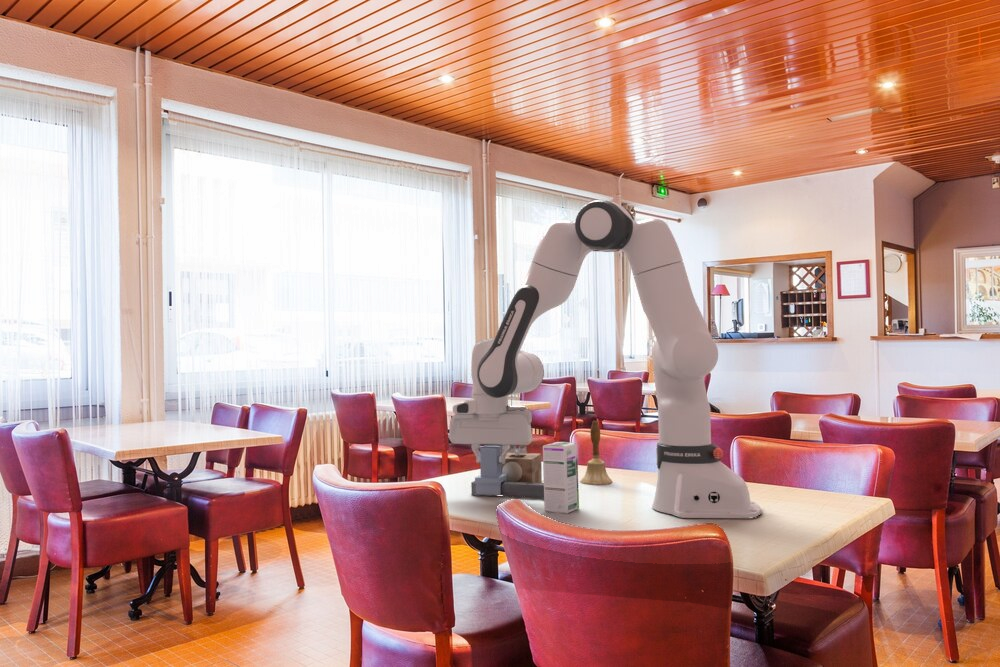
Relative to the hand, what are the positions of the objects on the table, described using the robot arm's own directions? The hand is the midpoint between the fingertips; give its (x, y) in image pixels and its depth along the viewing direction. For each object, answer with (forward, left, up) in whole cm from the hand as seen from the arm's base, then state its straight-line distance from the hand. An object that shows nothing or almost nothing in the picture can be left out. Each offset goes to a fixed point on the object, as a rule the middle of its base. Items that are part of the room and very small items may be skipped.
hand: (490, 463), depth 181 cm
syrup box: (-20, +13, -8) cm, 25 cm away
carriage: (0, 0, -8) cm, 8 cm away
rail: (-6, 0, -8) cm, 10 cm away
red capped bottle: (-4, -10, -2) cm, 11 cm away
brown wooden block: (-4, -10, -8) cm, 13 cm away
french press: (+2, -24, -8) cm, 25 cm away
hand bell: (-22, -22, -8) cm, 32 cm away
